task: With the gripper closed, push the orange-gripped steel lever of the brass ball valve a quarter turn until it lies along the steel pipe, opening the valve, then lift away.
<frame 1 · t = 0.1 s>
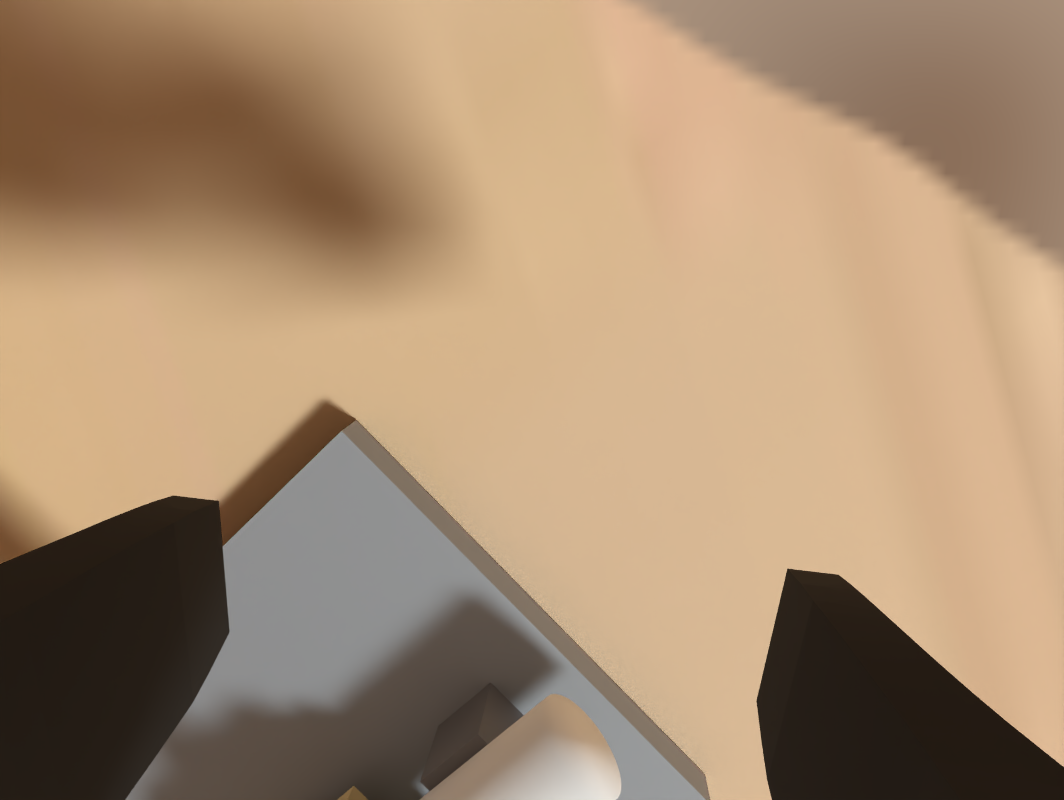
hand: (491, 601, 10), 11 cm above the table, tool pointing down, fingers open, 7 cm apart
valve board: (318, 786, 23), on the table
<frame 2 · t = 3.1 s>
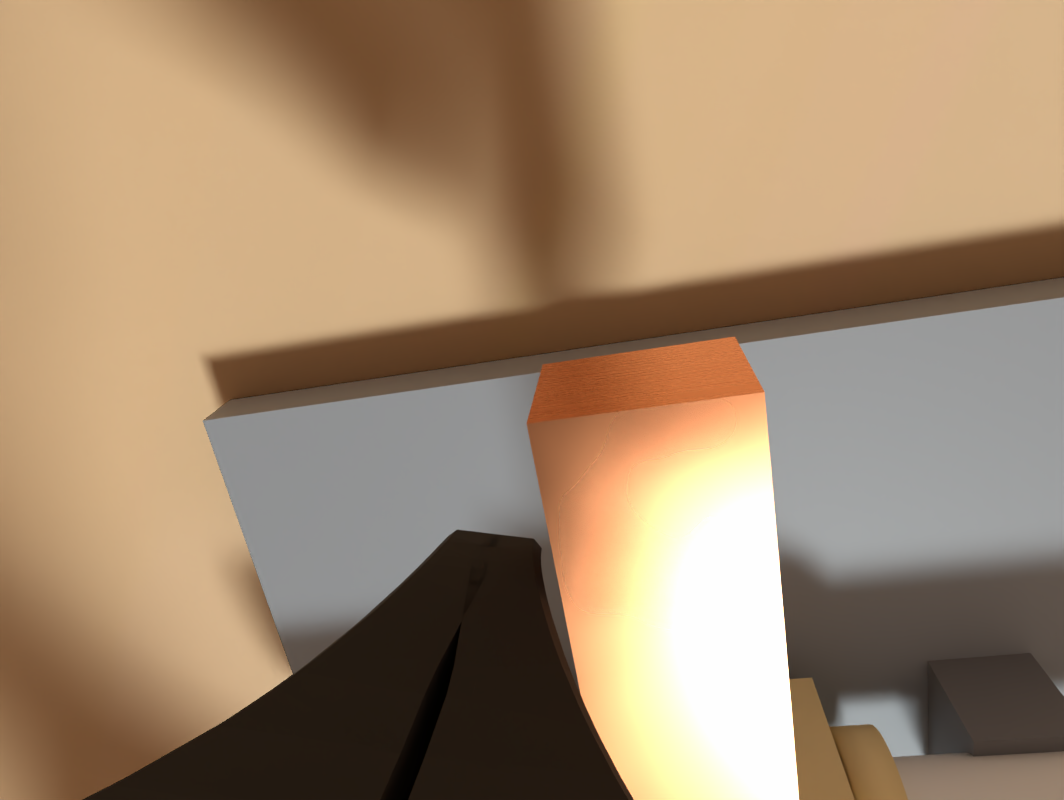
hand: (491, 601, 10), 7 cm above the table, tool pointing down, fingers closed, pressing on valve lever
valve board: (679, 626, 18), on the table
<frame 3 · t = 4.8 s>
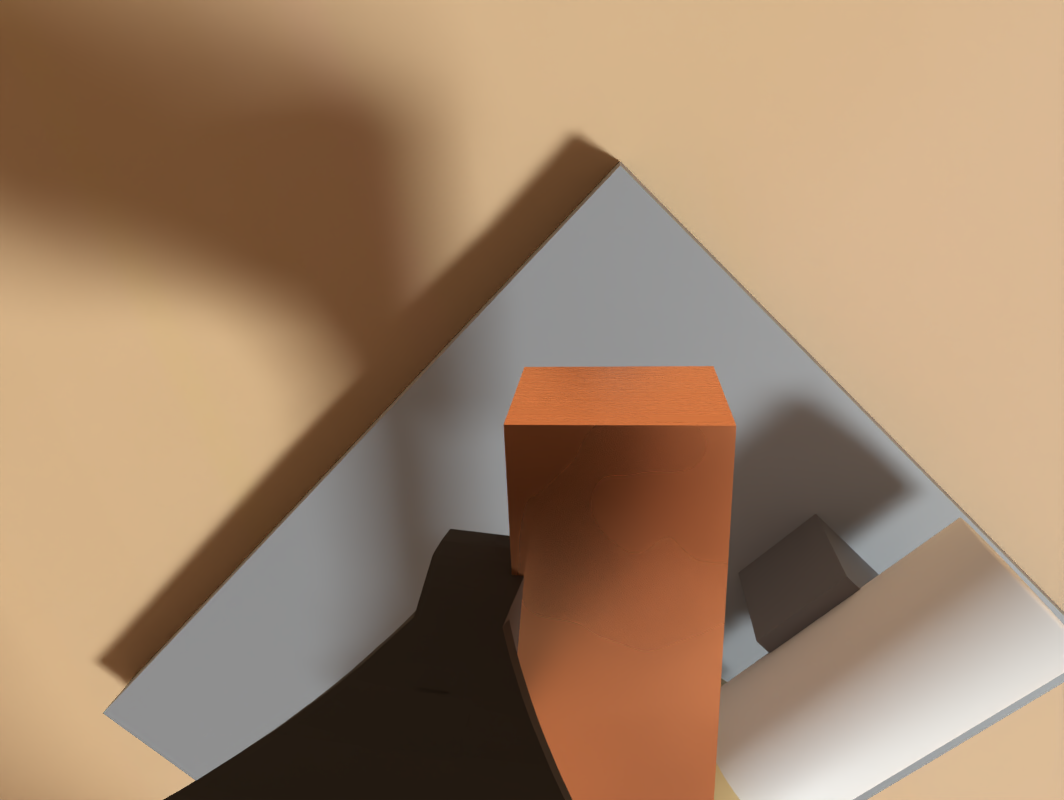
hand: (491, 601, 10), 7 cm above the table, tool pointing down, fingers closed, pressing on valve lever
valve board: (558, 653, 18), on the table
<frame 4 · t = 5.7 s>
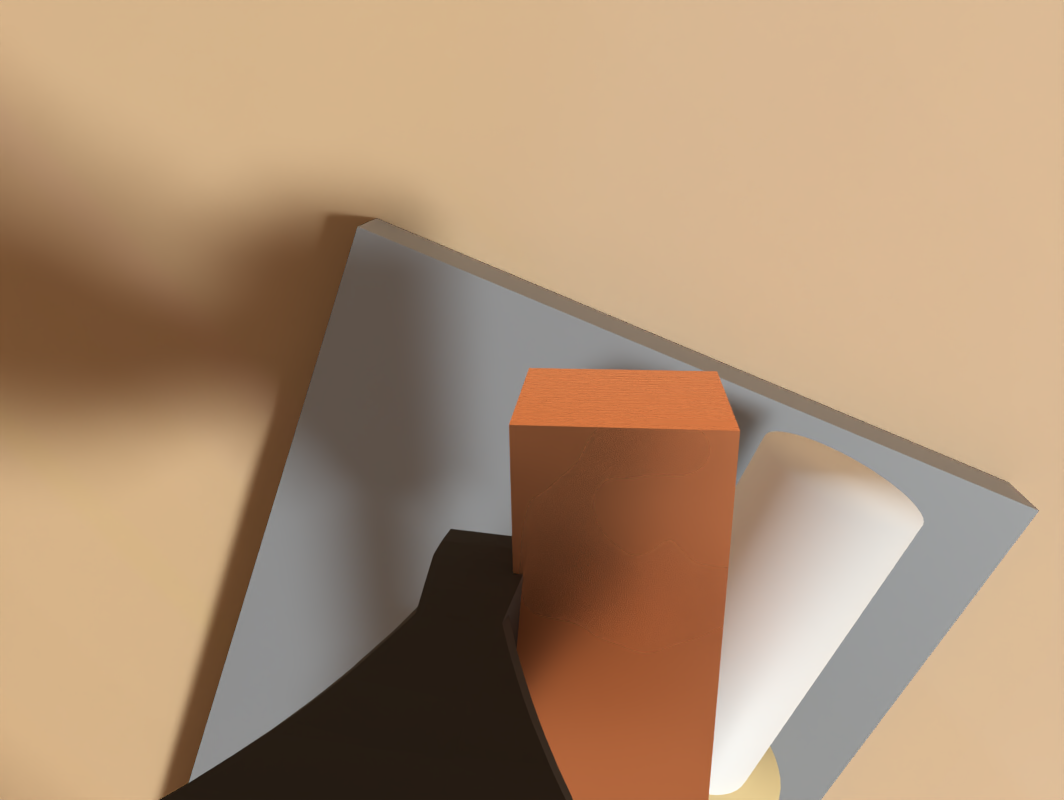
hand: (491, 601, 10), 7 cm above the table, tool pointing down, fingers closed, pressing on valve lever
valve board: (534, 675, 19), on the table
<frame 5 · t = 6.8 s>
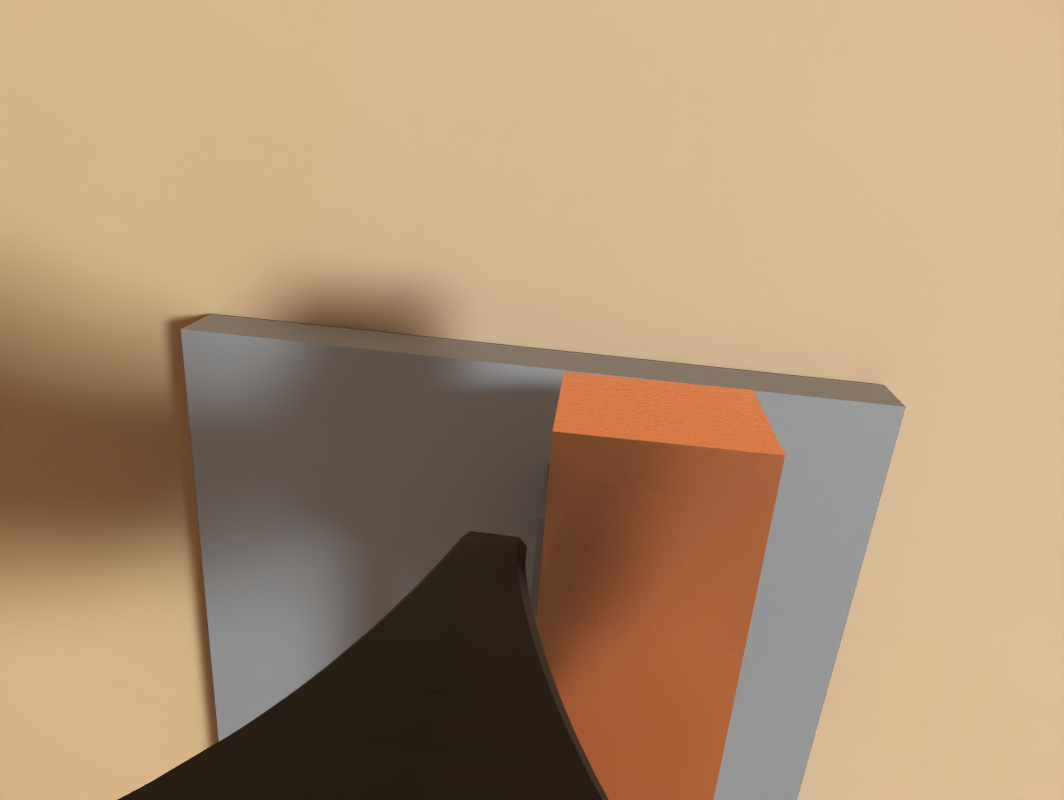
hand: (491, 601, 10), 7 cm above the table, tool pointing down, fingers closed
valve board: (508, 692, 19), on the table
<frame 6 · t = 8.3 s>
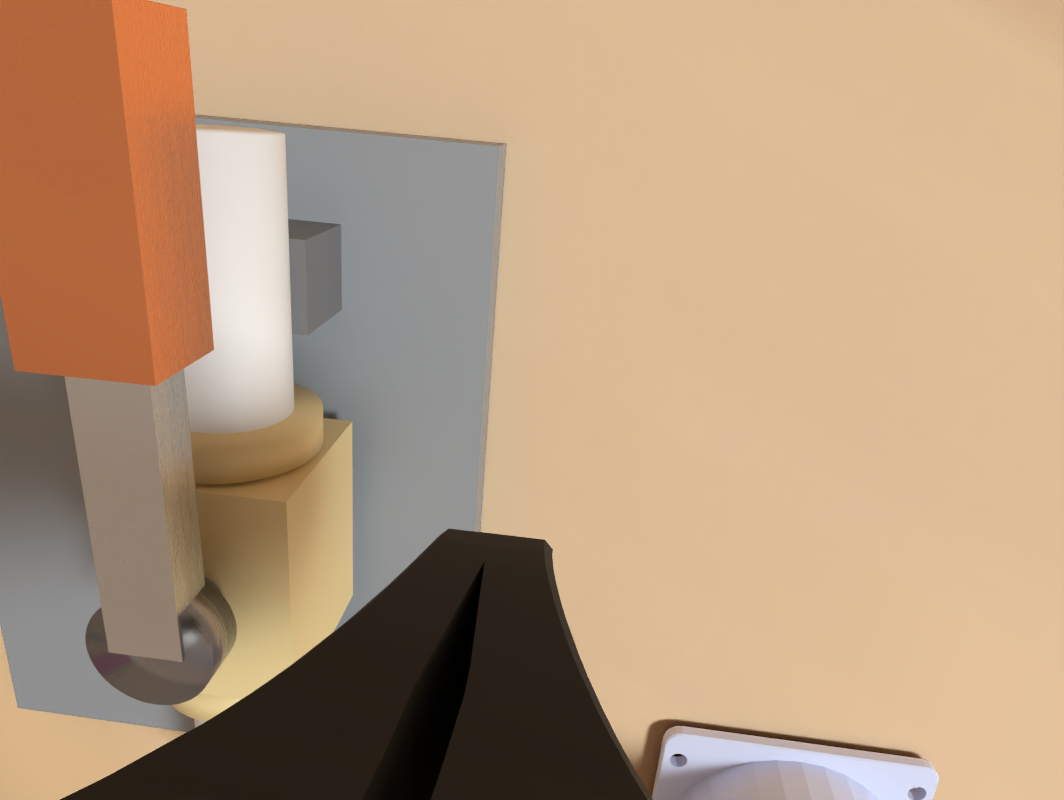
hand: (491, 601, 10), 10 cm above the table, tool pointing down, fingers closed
valve board: (234, 459, 21), on the table
valve lever: (126, 405, 13), point 7 cm above the table, hinge at 0.5°
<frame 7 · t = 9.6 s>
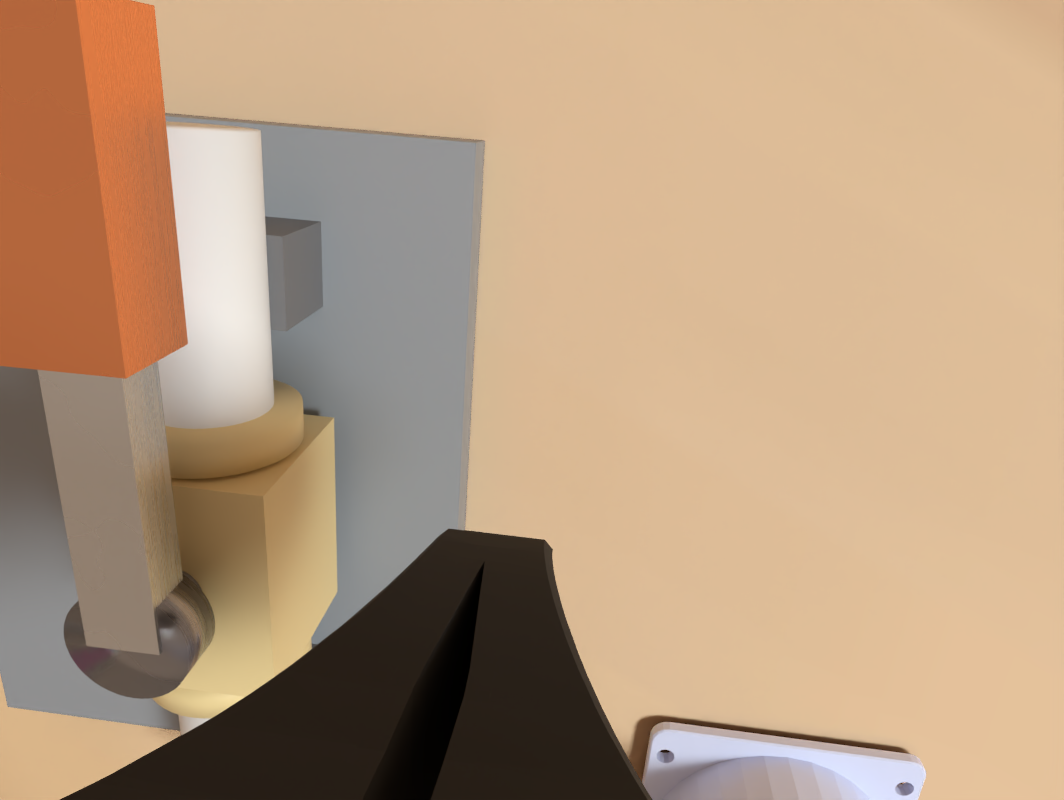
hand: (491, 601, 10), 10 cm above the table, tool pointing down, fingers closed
valve board: (220, 457, 21), on the table
valve lever: (100, 399, 13), point 7 cm above the table, hinge at 0.5°
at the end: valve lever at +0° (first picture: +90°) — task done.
